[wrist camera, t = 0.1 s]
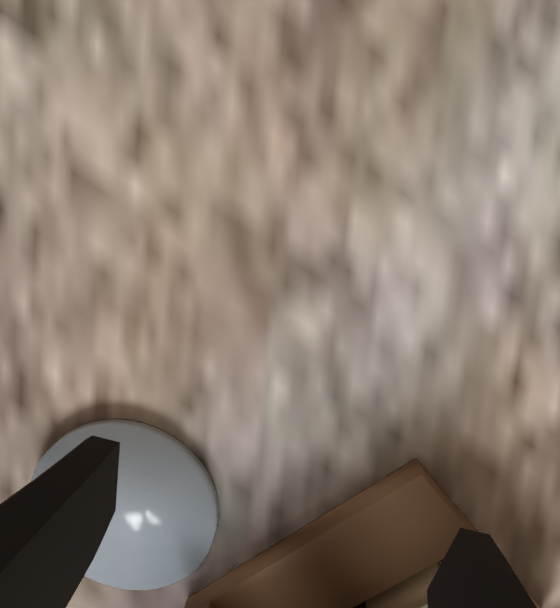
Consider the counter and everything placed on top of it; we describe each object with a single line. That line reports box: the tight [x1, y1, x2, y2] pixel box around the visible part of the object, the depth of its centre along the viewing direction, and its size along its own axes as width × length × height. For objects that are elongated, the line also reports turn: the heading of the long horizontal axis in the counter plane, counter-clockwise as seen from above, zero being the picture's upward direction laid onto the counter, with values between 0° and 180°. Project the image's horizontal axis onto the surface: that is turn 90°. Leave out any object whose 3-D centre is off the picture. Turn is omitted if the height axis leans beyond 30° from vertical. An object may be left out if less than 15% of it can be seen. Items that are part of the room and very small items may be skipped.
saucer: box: [32, 419, 219, 590], centre depth 23 cm, size 9×9×1 cm
